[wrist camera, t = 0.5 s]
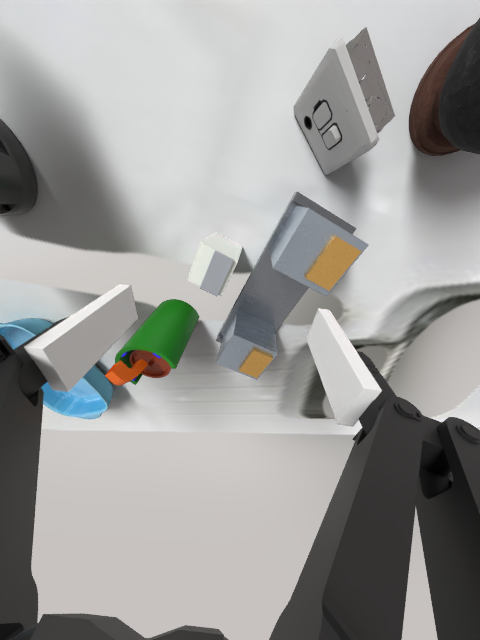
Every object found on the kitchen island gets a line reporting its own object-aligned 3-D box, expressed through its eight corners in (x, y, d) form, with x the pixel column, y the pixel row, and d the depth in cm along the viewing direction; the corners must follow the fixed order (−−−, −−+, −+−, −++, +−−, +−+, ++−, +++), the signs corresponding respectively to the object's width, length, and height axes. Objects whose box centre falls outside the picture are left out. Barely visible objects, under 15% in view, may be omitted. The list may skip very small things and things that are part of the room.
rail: (217, 335, 46) (207, 368, 37) (294, 192, 30) (311, 189, 21) (257, 352, 48) (257, 388, 39) (350, 226, 32) (387, 238, 23)
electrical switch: (290, 109, 25) (314, 61, 17) (326, 72, 24) (371, -1, 16) (324, 177, 29) (357, 162, 21) (357, 148, 27) (407, 120, 19)
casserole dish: (-19, 318, 50) (-57, 335, 44) (40, 295, 45) (6, 310, 39) (83, 403, 68) (66, 423, 62) (134, 394, 62) (121, 415, 56)
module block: (203, 261, 37) (185, 281, 28) (214, 231, 34) (199, 243, 25) (229, 274, 38) (220, 297, 29) (242, 246, 35) (237, 262, 26)
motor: (179, 339, 48) (136, 415, 31) (148, 317, 45) (83, 387, 28) (204, 317, 44) (171, 390, 27) (172, 290, 41) (113, 354, 24)
